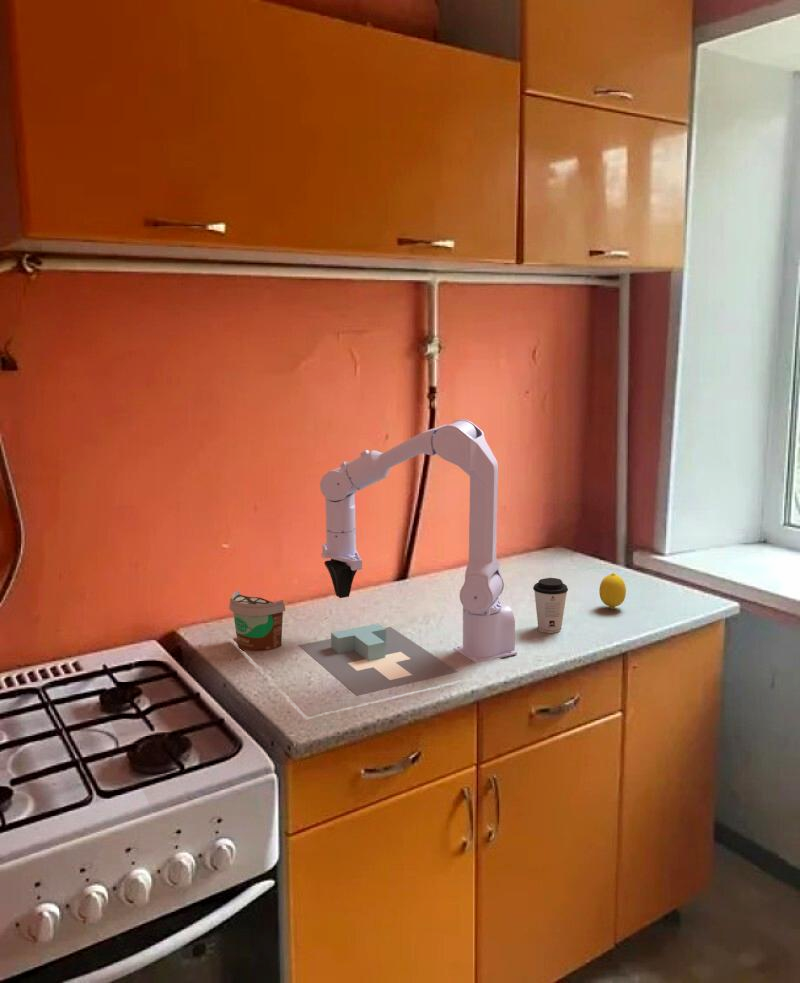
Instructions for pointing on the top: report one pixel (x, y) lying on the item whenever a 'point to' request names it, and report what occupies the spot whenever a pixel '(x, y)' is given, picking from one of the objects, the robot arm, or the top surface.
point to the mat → (379, 664)
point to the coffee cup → (550, 604)
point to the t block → (361, 641)
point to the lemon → (612, 590)
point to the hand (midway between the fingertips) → (342, 596)
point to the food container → (257, 622)
